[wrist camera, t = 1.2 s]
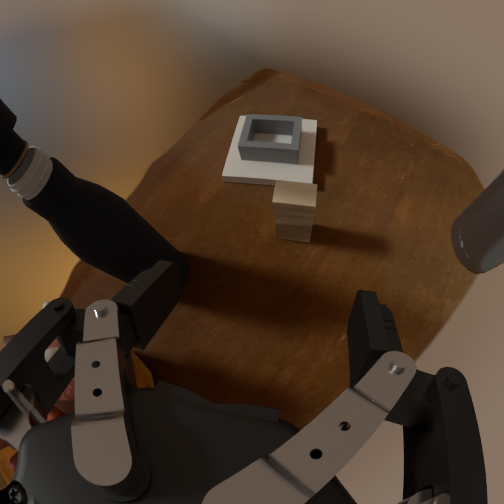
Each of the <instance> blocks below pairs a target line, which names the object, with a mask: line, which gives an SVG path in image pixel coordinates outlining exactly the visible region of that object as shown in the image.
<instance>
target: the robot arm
mask: <svg viewBox="0 0 504 504" xmlns="http://www.w3.org/2000/svg"><path fill="white" fill-rule="evenodd" d="M452 242H453V246H454V249H455V251H456V254H457V256H458V258H459V259H460V261H461V262H462V263H463V265H464V266H465V267H466V268H468V269H469V270H470V271H472V272H474V273H478V274H479V273H485V272H487V271H489V270H491V269H493V268H494V267H497V266H498V265H500V264H502V263H504V169H503V170H502V172H501V173H500V174H499V175H498V176H497V177H496V178H495V179H494V180H493V182H492V183H491V184H490V185H489V186H488V187H487V188H486V189H485V190H484V191H483V192H482V193H481V194H480V195H479V196H478V198H477V199H476V200H475V201H474V202H473V203H472V204H471V205H470V206H469V207H468V208H467V209H466V210H464V211H463V212H462V213H461V214H460V215H459V216H458V217H457V219H456V220H455V222H454V224H453V227H452ZM179 297H180V288H179V279H178V269H177V265H176V263H174V262H169V261H163V260H159V261H158V262H157V263H156V264H155V265H154V266H153V267H152V268H151V269H147V270H145V271H143V272H141V273H139V274H138V275H137V276H136V277H135V278H134V279H133V281H130V282H129V283H128V285H126V286H125V287H124V288H123V289H122V290H121V291H120V292H119V293H118V294H117V295H116V296H115V297H114V298H113V299H112V300H99V301H96V302H94V303H92V304H91V305H89V306H88V307H87V309H86V310H85V309H74V307H73V304H72V302H71V300H70V299H68V298H57V299H54V300H52V301H51V302H49V303H48V304H47V305H46V306H45V307H44V308H43V309H42V310H41V311H40V312H39V313H38V314H37V315H36V316H34V317H33V318H32V319H31V320H30V321H29V322H28V323H27V324H26V325H25V326H24V327H23V328H22V329H21V330H20V332H18V333H17V334H16V335H15V336H14V337H13V338H12V339H11V341H10V342H9V343H8V344H7V345H6V346H5V347H4V348H3V349H2V350H1V351H0V438H1V439H3V440H4V441H5V442H6V443H7V444H8V445H9V446H10V447H12V448H13V449H15V450H18V459H17V465H16V470H15V473H14V477H13V479H12V481H11V483H10V484H9V485H8V486H7V487H6V488H4V489H3V490H0V504H357V503H356V502H355V501H354V499H353V498H352V497H351V495H350V494H349V493H348V492H347V490H346V489H345V488H344V486H343V485H342V484H341V482H340V481H339V480H338V478H337V477H336V474H337V473H338V472H339V471H340V470H341V469H342V468H343V467H344V466H345V465H346V464H347V463H348V462H349V461H350V459H351V458H352V457H353V456H354V455H355V454H356V453H357V452H358V451H359V449H360V448H361V447H362V446H363V445H364V444H365V443H366V441H367V440H368V439H369V438H370V437H371V435H372V434H373V433H374V431H376V429H377V428H378V427H379V425H380V424H381V423H382V422H383V420H386V421H390V422H393V423H396V424H400V425H403V438H404V486H403V501H401V502H399V503H398V504H487V484H486V473H485V465H484V457H483V450H482V444H481V438H480V433H479V428H478V423H477V419H476V415H475V410H474V406H473V402H472V399H471V395H470V392H469V388H468V384H467V381H466V379H465V377H464V375H463V374H462V373H461V372H460V371H458V370H457V369H454V368H451V367H444V368H441V369H440V370H439V371H438V372H437V374H436V375H432V374H428V373H425V372H422V371H419V370H417V369H416V365H415V363H414V361H413V360H412V359H411V358H410V357H409V356H408V355H406V354H404V353H403V350H402V346H401V342H400V338H399V335H398V331H397V330H396V325H395V323H394V318H393V315H392V312H391V311H390V310H389V309H388V308H387V306H386V305H382V304H379V302H378V298H377V295H376V292H372V291H364V290H358V292H357V294H356V298H355V301H354V304H353V308H352V311H351V315H350V318H349V322H348V329H347V335H348V349H349V366H350V386H349V387H348V388H347V389H346V390H345V391H344V392H343V393H342V394H341V395H340V396H339V397H338V398H337V399H336V400H334V401H333V402H332V403H331V404H330V405H329V406H328V407H327V408H326V409H325V410H324V411H323V412H321V413H320V414H319V415H318V416H317V417H316V418H315V419H314V420H312V421H311V422H310V423H309V424H308V425H307V426H305V427H304V428H303V429H302V430H300V429H299V428H297V427H296V426H294V425H293V424H291V423H289V422H287V421H285V420H283V419H280V418H279V414H280V409H274V408H268V407H262V406H257V405H252V404H218V403H213V402H210V401H208V400H206V399H204V398H203V397H201V396H199V395H197V394H195V393H193V392H191V391H190V390H188V389H186V388H183V387H179V386H176V385H173V384H170V383H166V382H163V381H160V380H159V381H158V383H157V385H156V386H155V388H151V387H145V388H138V387H137V382H136V376H135V371H134V365H133V359H132V354H131V350H132V348H133V347H135V348H138V349H141V350H144V349H145V347H146V346H147V344H148V343H149V342H150V340H151V339H152V338H153V336H154V335H155V333H156V332H157V331H158V329H159V328H160V327H161V325H162V324H163V322H164V321H165V320H166V318H167V317H168V316H169V314H170V313H171V312H172V310H173V309H174V308H175V306H176V305H177V303H178V301H179ZM56 338H57V340H58V342H59V344H60V348H59V349H58V350H57V351H56V352H55V353H54V355H53V356H52V357H51V358H50V359H49V361H48V362H46V360H45V351H46V349H47V348H48V347H49V346H50V344H51V343H52V342H53V341H54V340H55V339H56ZM74 376H75V412H72V413H70V414H67V415H64V416H61V417H58V418H55V419H53V420H50V421H47V417H48V416H47V415H48V414H49V412H50V411H51V409H52V408H53V406H54V405H55V403H56V402H57V400H58V399H59V397H60V396H61V395H62V393H63V392H64V390H65V389H66V388H67V386H68V385H69V383H70V382H71V381H72V379H73V378H74Z"/></svg>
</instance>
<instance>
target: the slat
mask: <svg viewBox="0 0 504 504" xmlns="http://www.w3.org/2000/svg"><path fill="white" fill-rule="evenodd" d="M316 195H317V184H311V183H302V182H293V181H283V180H276V184H275V189H274V195H273V201H272V203H273V210H274V218H275V226H276V234H277V238H278V239H286V240H294V241H302V242H309V243H310V238H311V232H312V226H313V219H314V213H315V206H316Z"/></svg>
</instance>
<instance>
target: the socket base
mask: <svg viewBox="0 0 504 504" xmlns="http://www.w3.org/2000/svg"><path fill="white" fill-rule="evenodd" d="M316 128H317V120H308V119H302V117H293V116H278V115H255V114H247V115H246V116H240V118H239V121H238V124H237V127H236V130H235V133H234V137H233V140H232V143H231V147H230V150H229V153H228V157H227V160H226V163H225V167H224V170H223V174H222V177H223V180H224V182H235V183H248V184H260V185H271V186H275V184H276V180H283V181H293V182H302V183H311V184H312V181H313V170H314V157H315V144H316Z"/></svg>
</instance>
